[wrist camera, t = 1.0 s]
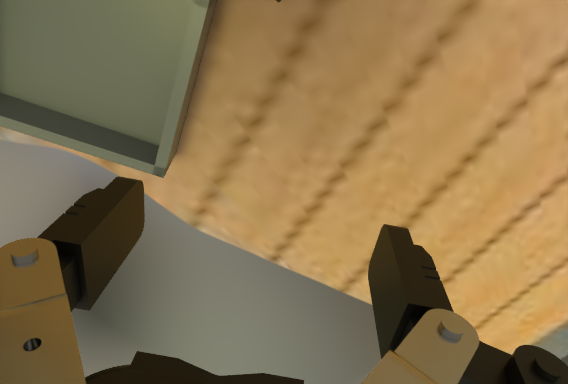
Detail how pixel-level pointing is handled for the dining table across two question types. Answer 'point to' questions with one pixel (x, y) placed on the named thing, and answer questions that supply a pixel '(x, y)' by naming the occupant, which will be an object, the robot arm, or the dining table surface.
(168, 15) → the tray
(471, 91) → the dining table surface
